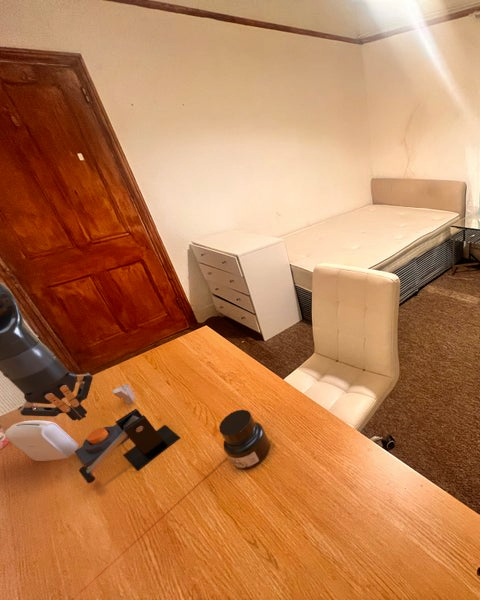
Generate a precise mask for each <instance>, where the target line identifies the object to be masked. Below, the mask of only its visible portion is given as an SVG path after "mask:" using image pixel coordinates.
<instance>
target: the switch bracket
mask: <svg viewBox="0 0 480 600" xmlns="http://www.w3.org/2000/svg"><path fill="white" fill-rule="evenodd" d="M133 415H134V416H136V417H139V418H138V419H137V420H135V421H134V422H132V423H131V424H129V425H128V426H126V427H125V428H124V427H123V425H124V424H125V423H126V422H127V421H128V420H129V419H130V418H131V417H132V416H133ZM116 424H117V425H118V426H119V427H120V428H121V429H122V430H123V431H124V432H125V433H126V434H127V435H128V437H129V439H128V440H130V441H131V442H132V444H133V445H134V446H133V447H132V448H130V449H129V450H127V451H126V452H125V453H123V454H122V456H123V457H124V459H126V460H127V461H128V463H130V465H131V466H132V467H133V468H134V469H135V470H136V471H137V472H139V471H140V470H142V469H143V468H144V467H145V466H147V465H148V464H150V463H151V462H152V461H154V460H155V459H156V458H157V457H158V456H160V455H161V454H162V453H164V452H165V451H166V450H167V449H169V448H170V447H172V446H173V445H174V444H175V443H176V442H177V441H179V440H181V437H180V436H179V435H178V434H177V433H176V432H174V431H173V430H172V429H171V428H170V427H169V426H167V425H166V424H163V425H162V426H161V427H159V428H158V429H156V428H155V427H154V426H153V425H152V423H151V421H149V420H148V418H147V417H146V416H145V415H142V413H141V412H140V411H139V410H138V408H134V409H133V410H131V411H130V412H128V413H127V414H125V415H124V416H122V417H121V418H118V419H117V420H116V421H115V425H116Z"/></svg>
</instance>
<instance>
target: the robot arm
mask: <svg viewBox="0 0 480 600" xmlns="http://www.w3.org/2000/svg"><path fill="white" fill-rule="evenodd" d="M0 373H1V374H2V375H3V376H4V377H5V378H7V380H9V381H10V382H11V383H12V384H13V385H14V386H15V387H16V388H17V389H18V390H19V391H20V392H22V393H23V398H24V401H25V402H24V403H23V405H21V406H19V407H18V408H17V409H18V412H19V414H21V416H24V417H25V416H26V417H50V418H51V417H53V418H55V417H57V416H59V415H61V414H66V416H67V417H68V418H70V420H72V421H74V422H75V421H81V420H83V419H85V418H86V417H87V416H86V415H87V414H88V411H87V409H85V407H84V406H83V405H82V402H83V401H85V400H86V399H88V395H89V392H90V389H91V385H92V382H93V378H94V377H93V376H92V374H90V373H89V372H83V373H82V374H76V373H74V372H73V371H70V370H68V368H67V366H65V365H64V364H63V363H62V362H61V361H60V359H59V358H58V357H57V356H56V355H55V353H54V352H53V351H52V350H51V349H50V348H49V347H48V346H47V345H46V344H45V343H43V342H42V341H41V340H40V339H39V338H37V336H36V335H35V334H34V332H32V331H31V329H30V328H29V327H28V326H27V325H26V323H25V322H24V318H23V314H22V312H21V310H20V308H19V305H18V302H17V301H16V298H15V296H14V294H13V293H12V291H11V290H10V288H8V286H6V285H5V284H4V283H3V282H1V281H0ZM77 383H78V384H79V385H78V389H77V392H76V395H74V391H75V390H76V389H75V388H76V384H77ZM64 398H65V399H66V400H67V402H68V403H69V404H70V405H69V404H67V403H66V402H65V401H64V400H63V399H64ZM37 404H41V405H52V404H53V405H54V407H53V406H38V405H37Z"/></svg>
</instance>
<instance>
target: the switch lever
mask: <svg viewBox="0 0 480 600" xmlns="http://www.w3.org/2000/svg"><path fill="white" fill-rule="evenodd" d="M138 418H139V417H136V416H134V415H133V416H132V417H131V418H130V419H129V420H128V421H127V422H126V423H125V424H124V425H123V427H124V428H125V427H126V426H128V425H129V424H131V423H132V422H134V421H135V420H137V419H138ZM127 436H128V435H127V434H126V433H125V432H124V431H123V432H122V433H121V434H120V435H119V436H118V437H117V438H116V439H115V440H114V442H113V443H112V444H111V445H110V446H109V447H108V448H107V449H106V450H105V451H104V452H103V453H102V454H101V455H100V456H99V458H98V459H97V460H96V461H95V462H94V463H93V464H92V465H91V466H89V467H88V468H87V467H86V466H85V465H83V466H82V467H80V468H79V469H78V472H79V473H80V475H81V476H82V477H83V479H84V480H85V482H86V483H87V484H92V483H94V481H95V480H96V477H95V475H94V473H95V472H96V471H97V469H98V468H99V467H100V466H101V465H102V464H103V463H104V462H105V461H106V459H108V458H109V456H110V455H111V454H112V453H113V452H114V451H115V450H116V449H117V448H118V447H119V446H120V445H119V444H120V443H121V442H122V441H123V440H124V439H125V438H126V437H127ZM118 445H119V446H118ZM117 446H118V447H117Z"/></svg>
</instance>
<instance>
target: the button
mask: <svg viewBox="0 0 480 600" xmlns="http://www.w3.org/2000/svg"><path fill="white" fill-rule="evenodd" d="M108 435H109V433H108V432H107V431H106V430H105V429H104V427H99V428H96V429H94V430H93V431H91V432H90V433H89V434H88V435H87V437H86V439H87V440H88V441H89V442H90V443H91V444H93V445H95V444H98V443H100V442H102V441H103V440H105V439H106V438H107V437H108Z"/></svg>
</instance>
